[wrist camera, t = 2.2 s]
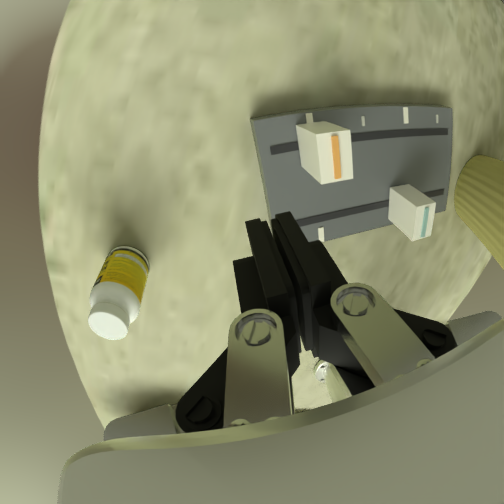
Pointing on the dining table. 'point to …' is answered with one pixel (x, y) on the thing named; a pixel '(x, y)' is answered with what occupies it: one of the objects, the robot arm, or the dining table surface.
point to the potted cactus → (483, 202)
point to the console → (355, 165)
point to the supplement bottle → (118, 292)
